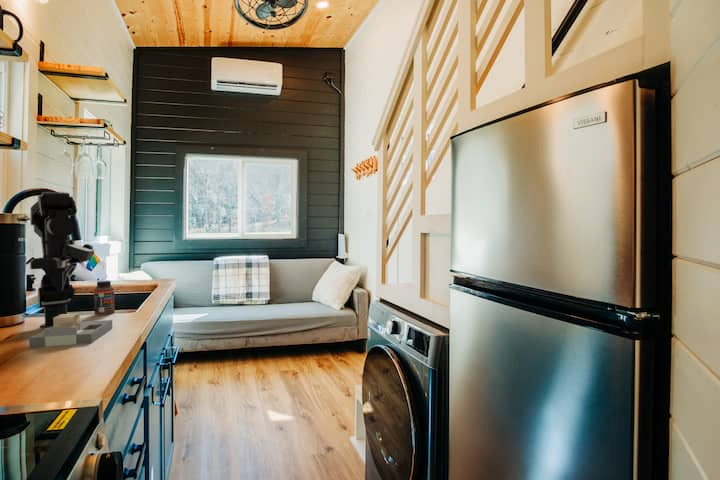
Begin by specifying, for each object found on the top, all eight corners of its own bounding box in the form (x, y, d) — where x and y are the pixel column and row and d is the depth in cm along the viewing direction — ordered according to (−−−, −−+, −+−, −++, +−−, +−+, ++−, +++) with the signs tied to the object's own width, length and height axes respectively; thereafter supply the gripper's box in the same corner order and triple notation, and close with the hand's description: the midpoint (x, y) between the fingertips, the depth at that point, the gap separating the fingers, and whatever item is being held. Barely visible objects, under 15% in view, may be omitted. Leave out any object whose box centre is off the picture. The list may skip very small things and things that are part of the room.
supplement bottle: (105, 315, 144) (104, 282, 143) (90, 315, 145) (88, 282, 144) (118, 312, 149) (117, 280, 149) (104, 311, 151) (102, 279, 150)
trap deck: (58, 331, 123) (58, 316, 123) (112, 328, 126) (111, 313, 126) (29, 347, 107) (28, 330, 107) (91, 343, 110) (90, 326, 110)
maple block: (61, 330, 114) (60, 314, 114) (80, 329, 115) (79, 313, 115) (54, 334, 110) (53, 317, 110) (73, 333, 111) (72, 316, 111)
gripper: (75, 236, 114) (78, 294, 114) (101, 234, 132) (103, 284, 132) (27, 237, 111) (30, 297, 112) (60, 235, 129) (62, 286, 130)
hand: (60, 290), depth 122 cm, fingers closed
